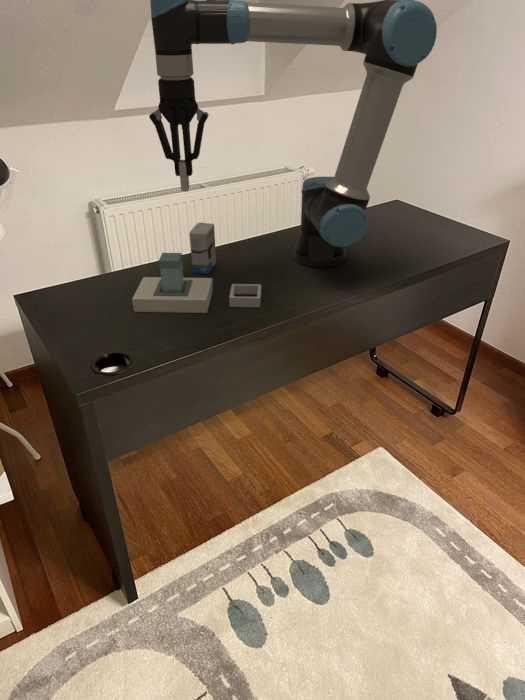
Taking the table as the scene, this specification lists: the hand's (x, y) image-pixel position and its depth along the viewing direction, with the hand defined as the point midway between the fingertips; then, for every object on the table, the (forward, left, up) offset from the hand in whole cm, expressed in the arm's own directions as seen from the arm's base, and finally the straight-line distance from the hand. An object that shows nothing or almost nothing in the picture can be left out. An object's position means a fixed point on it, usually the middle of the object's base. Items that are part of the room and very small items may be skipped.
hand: (185, 189), depth 123 cm
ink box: (-1, -14, -27) cm, 30 cm away
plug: (+4, +6, -26) cm, 27 cm away
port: (+4, +6, -26) cm, 27 cm away
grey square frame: (-14, +5, -26) cm, 30 cm away
